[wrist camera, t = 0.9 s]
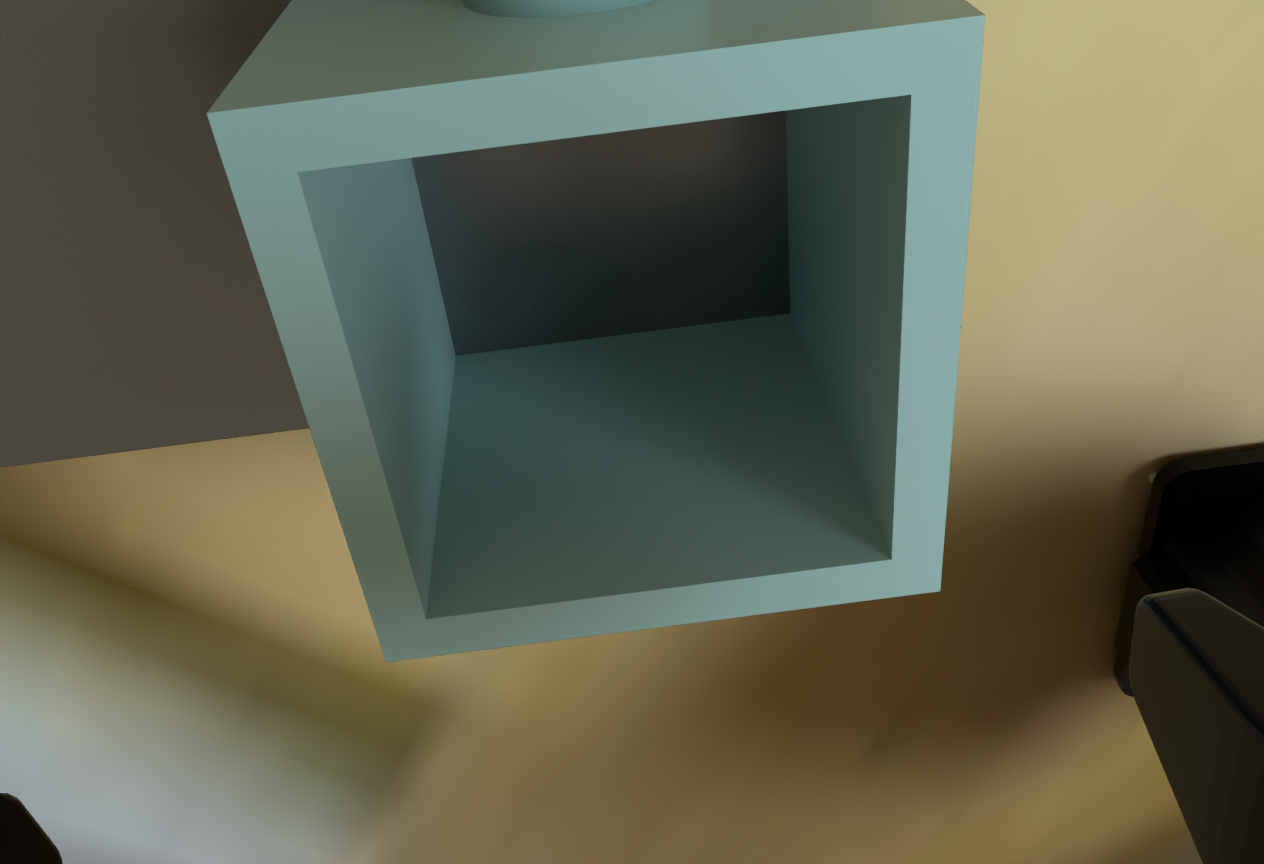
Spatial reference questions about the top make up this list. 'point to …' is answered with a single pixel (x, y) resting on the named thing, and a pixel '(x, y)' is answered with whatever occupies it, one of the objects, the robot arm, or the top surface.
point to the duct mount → (224, 264)
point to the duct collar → (623, 364)
